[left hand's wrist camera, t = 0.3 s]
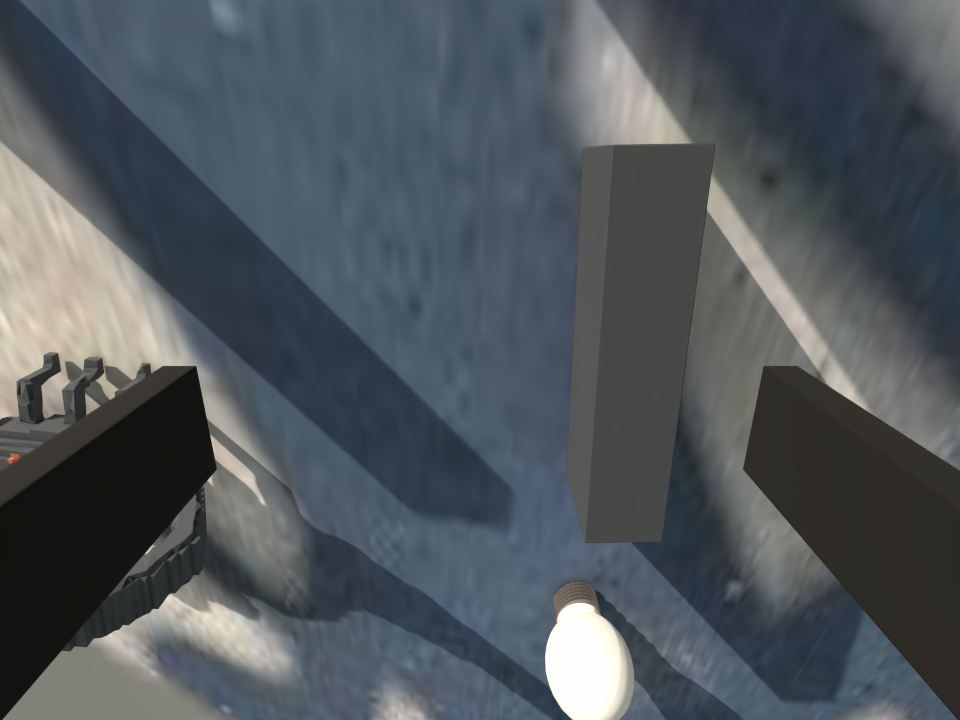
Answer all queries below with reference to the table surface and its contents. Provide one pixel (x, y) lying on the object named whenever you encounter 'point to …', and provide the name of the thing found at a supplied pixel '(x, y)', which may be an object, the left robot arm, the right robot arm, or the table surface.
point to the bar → (632, 330)
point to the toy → (162, 563)
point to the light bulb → (587, 658)
